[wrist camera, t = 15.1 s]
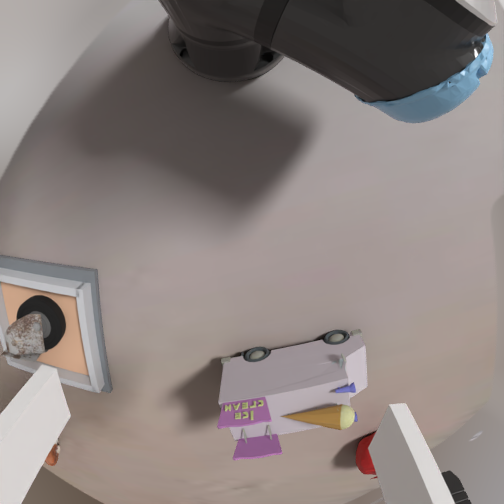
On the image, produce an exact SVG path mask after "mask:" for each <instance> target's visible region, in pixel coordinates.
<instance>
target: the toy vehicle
mask: <svg viewBox="0 0 504 504" xmlns="http://www.w3.org/2000/svg"><path fill="white" fill-rule="evenodd" d="M221 363H222V366H223V373H222V380H221V387H220V394H219V401H218V403H219V405H220V408H221V414H220V418H219V421H218V425H217V427H218V428H219V429H221V428H225V427H229V429H230V431H231V433H232V436H233V438H234V440H235V441H238V443H237V446H236V449H235V453H234V456H233V460H238V459H253V458H262V457H266V456H271V455H280V454H282V450H281V447H280V443H279V440H278V436H277V435H281V434H287V433H293V432H298V431H303V430H308V429H313V428H318V427H322V426H323V427H328V428H333V429H338V430H342V429H346V428H348V427H349V426H351V425H352V423H353V422H354V421H355V422H357V421H358V420H357V414H356V412H354V410H353V409H352V408H351V407H350V398H351V397H353V396H354V395H356V394H357V393H359V392H360V391H361V390H363V389H364V388H366V387H367V366H366V349H365V343H364V341H363V339H362V332H361V330H360V329H358V330H354V331H351V333H350V336H349V334H348V333H347V332H345V331H343V330H335V331H332V332H329V333H328V334H327V335H326V336H325V338H324V342H323V340H318V341H314V342H309V343H305V344H300V345H295V346H291V347H286V348H281V349H276V350H271V353H270V351H269V350H268V349H267V348H265V347H256V348H253V349H250V350H249V351H248V352H247V353H246V355H244V353H243V352H241V356H239V357H234V358H231V357H227V358H222V359H221Z"/></svg>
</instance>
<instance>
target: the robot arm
mask: <svg viewBox="0 0 504 504" xmlns="http://www.w3.org/2000/svg"><path fill="white" fill-rule="evenodd" d="M159 2H160V3H161V5H162V6H163V8H164V9H165V11H166V12H167V14H168V15H169V17H170V18H169V24H168V34H169V39H170V43H171V46H172V48H173V50H174V52H175V53H176V55H177V56H178V57H179V59H180V60H181V61H182V62H183V63H184V64H185V65H186V66H187V67H188V68H189V69H190V70H192V71H193V72H195V73H196V74H198V75H200V76H203V77H205V78H208V79H211V80H216V81H224V82H236V81H243V80H248V79H251V78H255V77H257V76H260V75H262V74H264V73H266V72H267V71H269V70H271V69H272V68H273V67H275V66H276V65H277V64H278V63H279V62H280V61H281V60H282V59H283V58H284V56H286V57H288V58H290V59H292V60H294V61H296V62H298V63H300V64H302V65H304V66H306V67H308V68H309V69H311V70H313V71H315V72H317V73H319V74H321V75H322V76H324V77H326V78H328V79H330V80H331V81H333V82H335V83H337V84H338V85H340V86H342V87H344V88H345V89H347V90H349V91H350V92H352V93H354V95H355V97H356V98H357V99H358V100H359V101H361V102H362V103H365V104H368V105H370V106H374V107H376V108H377V109H379V110H381V111H382V112H384V113H386V114H387V115H389V116H390V117H392V118H394V119H396V120H399V121H403V122H406V123H421V122H426V121H430V120H433V119H436V118H438V117H440V116H442V115H444V114H446V113H448V112H449V111H451V110H453V109H454V108H456V107H457V106H458V105H460V104H461V103H462V102H464V101H465V100H466V99H467V98H468V97H469V96H470V95H471V94H472V93H473V92H474V91H475V90H476V89H477V87H478V86H479V85H480V81H479V78H481V77H482V76H484V75H486V74H487V73H488V71H489V69H490V67H491V64H492V60H493V46H492V43H491V41H490V38H489V36H488V34H487V33H488V32H489V31H490V30H491V29H492V28H493V27H494V26H495V25H496V24H497V15H496V9H495V3H494V0H159ZM70 417H71V415H70V412H69V409H68V406H67V403H66V399H65V396H64V393H63V390H62V386H61V383H60V379H59V376H58V372H57V369H55V368H52V367H49V366H46V365H41V366H40V368H39V369H38V370H37V371H36V372H35V373H34V374H33V376H32V377H31V378H30V379H29V380H28V381H27V383H26V384H25V385H24V386H23V387H22V389H21V390H20V391H19V392H18V393H17V395H16V396H15V397H14V398H13V399H12V401H11V402H10V403H9V404H8V406H7V407H6V408H5V409H4V411H3V412H2V413H1V414H0V504H21V503H22V501H23V499H24V497H25V495H26V493H27V492H28V490H29V488H30V486H31V484H32V482H33V481H34V478H35V477H36V475H37V473H38V471H39V470H40V468H41V466H42V464H43V463H44V461H45V459H46V457H47V456H48V454H49V452H50V450H51V449H52V447H53V445H54V444H55V442H56V440H57V438H58V437H59V435H60V433H61V432H62V430H63V428H64V427H65V425H66V423H67V422H68V420H69V418H70ZM368 450H369V453H370V456H371V459H372V462H373V465H374V468H375V471H376V474H377V477H378V481H379V484H380V487H381V490H382V493H383V496H384V500H385V503H386V504H471V502H470V500H468V496H467V494H466V492H464V488H463V486H462V483H461V482H460V480H459V478H458V477H457V476H456V475H454V474H453V473H452V472H451V471H447V472H443V473H441V472H440V470H439V468H438V466H437V464H436V462H435V460H434V458H433V456H432V454H431V452H430V450H429V448H428V446H427V444H426V442H425V440H424V438H423V436H422V434H421V432H420V430H419V428H418V426H417V424H416V422H415V420H414V418H413V416H412V414H411V412H410V410H409V409H408V407H407V405H406V403H401V404H389V406H388V408H387V410H386V413H385V415H384V417H383V419H382V421H381V423H380V425H379V427H378V429H377V431H376V433H375V435H374V437H373V439H372V441H371V443H370V445H369V447H368Z"/></svg>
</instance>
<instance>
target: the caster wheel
mask: <svg viewBox="0 0 504 504" xmlns="http://www.w3.org/2000/svg"><path fill="white" fill-rule="evenodd" d="M65 330H66V320H65V316H64V314H63V312H62V310H61V308H60V307H59V305H58V304H57V303H56V302H55V301H53V300H52V299H51V298H49V297H47V296H43V295H35V296H32V297H30V298H29V299H27V300H26V301H25V302H23V303H22V304H21V305H20V307H19V309H18V311H17V317H16V321H15V322H13V323H12V324H11V325H10V326H9V327H8V328H7V330H6V332H5V341H6V347H7V349H6V350H5V351H4V352H3V353H2V354H1V355H2V356H6V357H11V358H15V359H20V360H25V361H30V362H35V361H36V360H37V359H38V358H39V356H40V355H41V354H42V353H45V352H47V351H48V350H49V349H52V348H54V347H55V346H56V345H57V344H58V343H59V342H60V340H61V339H62V337H63V336H64V334H65Z"/></svg>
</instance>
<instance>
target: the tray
mask: <svg viewBox="0 0 504 504" xmlns="http://www.w3.org/2000/svg"><path fill="white" fill-rule="evenodd" d="M35 295H43V296H47V297H49V298H51V299H52V300H53V301H55V302H56V303H57V304H58V305H59V307H60V308H61V310H62V312H63V314H64V316H65V320H66V330H65V334H64V336H63V337H62V339H61V340H60V342H59V343H58V344H57V345H56V346H55V347H54V348H52V349H49V350H48V351H47V352H45V353H42V354H41V355H40V356H39V358H38V359H37V360H36V361H35V362H30V361H25V360H20V359H15V358H11V357H6V359H7V363H8V365H11V366H13V367H16V368H19V369H21V370H24V371H27V372H30V373H33V374H34V373H35V372H36V371H37V370H38V369H39V368H40V366H41V365H46V366H49V367H52V368H55V369H57V372H58V376H59V379H60V383H64V384H67V385H70V386H74V387H77V388H81V389H85V390H88V391H92V392H96V393H100V391H104V392H108V393H111V391H112V384H111V379H110V373H109V368H108V361H107V355H106V348H105V341H104V334H103V326H102V317H101V308H100V297H99V285H98V271H97V269H90V268H83V267H76V266H69V265H62V264H55V263H48V262H42V261H35V260H29V259H22V258H16V257H10V256H4V255H0V340H1V343H2V346H3V350H4V351H5V350H6V349H7V347H6V341H5V332H6V330H7V328H8V327H9V326H10V325H11V324H12V323H13V322H15V321H16V317H17V311H18V309H19V307H20V305H21V304H22V303H23V302H25V301H26V300H27V299H29V298H30V297H32V296H35Z"/></svg>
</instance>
